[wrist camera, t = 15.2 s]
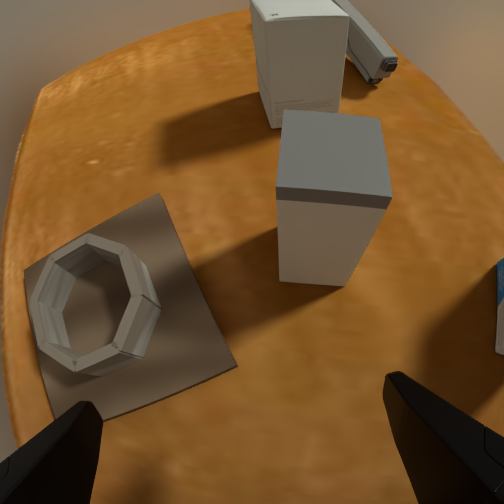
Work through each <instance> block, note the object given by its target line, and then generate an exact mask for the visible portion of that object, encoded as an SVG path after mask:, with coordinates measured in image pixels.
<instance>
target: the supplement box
mask: <svg viewBox="0 0 504 504" xmlns="http://www.w3.org/2000/svg"><path fill="white" fill-rule="evenodd" d="M250 11H251V20H252V29H253V38H254V47H255V56H256V65H257V77H258V88H259V93H260V96H261V99H262V103H263V105H264V108H265V111H266V114H267V117H268V120H269V123H270V126H271V128H272V129H274V128H282V122H283V111H284V110H302V111H316V112H328V113H339V106H340V99H341V91H342V83H343V74H344V65H345V56H346V46H347V37H348V26H349V15H348V14H347V13H345V12H344V11H343V10H342V9H341V8H340V7H338V6H337V5H336V4H335V3H334V2H332V1H331V0H250Z"/></svg>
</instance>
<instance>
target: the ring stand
mask: <svg viewBox="0 0 504 504" xmlns="http://www.w3.org/2000/svg"><path fill="white" fill-rule="evenodd" d="M24 277H25V286H26V294H27V302H28V309H29V315H30V321H31V327H32V332H33V337H34V342H35V347H36V351H37V356H38V360H39V364H40V368H41V372H42V376H43V380H44V383H45V387H46V390H47V394H48V397H49V400H50V404H51V407H52V410H53V413H54V416H55V419H57V418H58V417H60V416H61V415H62V414H63V413H65V412H66V411H67V410H68V409H70V408H71V407H72V406H73V405H75V404H76V403H77V402H79V401H81V400H85V401H91V402H92V403H93V404H94V405H95V407H96V409H97V410H98V412H99V413H100V415H101V417H102V419H103V422H105V421H107V420H110V419H113V418H116V417H119V416H121V415H124V414H127V413H130V412H132V411H135V410H138V409H140V408H143V407H145V406H148V405H151V404H153V403H156V402H158V401H161V400H163V399H165V398H168V397H170V396H173V395H175V394H178V393H180V392H182V391H185V390H187V389H189V388H192V387H194V386H196V385H199V384H201V383H203V382H205V381H208V380H210V379H212V378H214V377H216V376H219V375H221V374H223V373H225V372H227V371H229V370H231V369H234V368H236V367H238V365H237V363H236V361H235V359H234V357H233V355H232V353H231V351H230V349H229V347H228V345H227V342H226V340H225V338H224V336H223V334H222V332H221V330H220V328H219V326H218V324H217V322H216V320H215V317H214V315H213V313H212V311H211V309H210V307H209V305H208V302H207V300H206V298H205V296H204V294H203V292H202V289H201V287H200V285H199V283H198V280H197V278H196V276H195V274H194V272H193V269H192V267H191V265H190V262H189V260H188V258H187V256H186V253H185V251H184V249H183V246H182V244H181V242H180V239H179V237H178V235H177V232H176V230H175V227H174V225H173V223H172V220H171V218H170V215H169V213H168V210H167V208H166V206H165V203H164V201H163V199H162V197H161V195H160V193H157V194H155V195H153V196H151V197H150V198H148V199H146V200H144V201H142V202H140V203H138V204H136V205H134V206H132V207H130V208H128V209H126V210H125V211H123V212H121V213H119V214H117V215H115V216H114V217H112V218H110V219H108V220H106V221H104V222H103V223H101V224H99V225H97V226H96V227H94V228H92V229H90V230H89V231H87V232H85V233H83V234H82V235H80V236H78V237H76V238H75V239H73V240H71V241H70V242H68V243H66V244H65V245H63V246H61V247H60V248H58V249H57V250H55V251H53V252H52V253H50V254H48V255H47V256H45V257H44V258H42V259H40V260H39V261H37V262H36V263H34V264H33V265H31V266H30V267H28V268H27V269H25V270H24Z"/></svg>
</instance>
